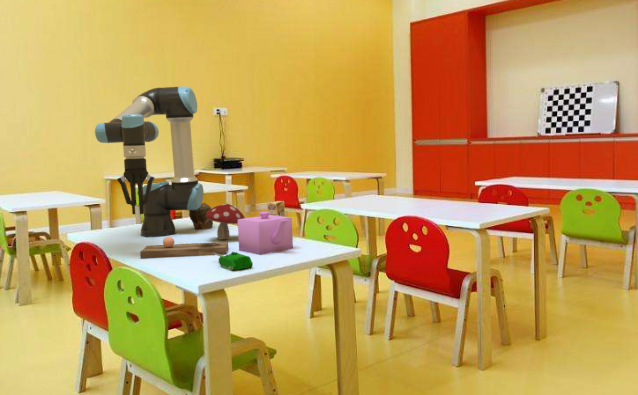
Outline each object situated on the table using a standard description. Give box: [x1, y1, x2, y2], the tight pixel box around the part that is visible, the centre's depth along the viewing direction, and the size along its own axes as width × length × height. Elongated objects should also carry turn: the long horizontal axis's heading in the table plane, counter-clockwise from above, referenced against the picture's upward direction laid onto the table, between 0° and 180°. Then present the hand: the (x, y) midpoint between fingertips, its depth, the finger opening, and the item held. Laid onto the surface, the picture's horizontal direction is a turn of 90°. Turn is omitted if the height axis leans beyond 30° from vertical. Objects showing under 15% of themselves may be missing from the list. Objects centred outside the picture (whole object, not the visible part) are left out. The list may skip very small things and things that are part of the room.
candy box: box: [267, 200, 286, 217], centre depth 234 cm, size 9×4×15 cm, turn 163°
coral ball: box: [162, 235, 175, 247], centre depth 210 cm, size 4×4×4 cm
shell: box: [188, 202, 214, 230], centre depth 273 cm, size 11×11×12 cm
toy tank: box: [212, 251, 254, 272], centre depth 188 cm, size 7×19×5 cm, turn 35°
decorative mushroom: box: [206, 203, 245, 241], centre depth 237 cm, size 16×16×15 cm
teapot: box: [237, 211, 294, 256], centre depth 212 cm, size 15×25×14 cm, turn 42°
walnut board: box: [139, 241, 229, 260], centre depth 211 cm, size 12×30×2 cm, turn 95°
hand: (138, 223), depth 208 cm, fingers closed
